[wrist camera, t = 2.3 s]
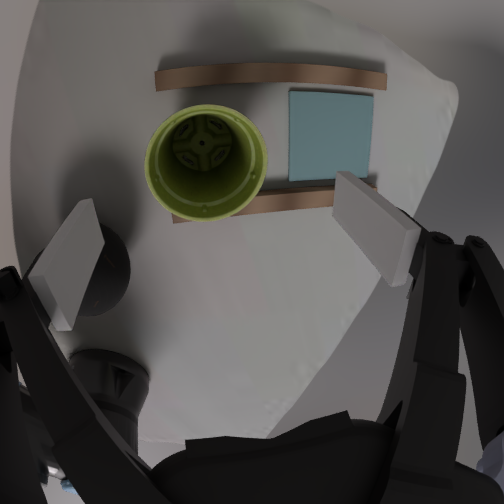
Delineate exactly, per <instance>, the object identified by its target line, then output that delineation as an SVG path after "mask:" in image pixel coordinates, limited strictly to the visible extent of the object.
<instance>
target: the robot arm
mask: <svg viewBox="0 0 504 504" xmlns="http://www.w3.org/2000/svg"><path fill="white" fill-rule="evenodd" d="M332 216H333V217H334V218H335V220H336V221H337V222H338V223H339V224H340V225H341V226H342V228H343V229H344V230H345V231H346V232H347V233H348V235H349V236H350V237H351V238H352V239H353V241H354V242H355V243H356V244H357V245H358V247H359V248H360V249H361V250H362V251H363V253H364V254H365V255H366V256H367V257H368V259H369V260H370V261H371V262H372V264H373V265H374V266H375V267H376V269H377V270H378V271H379V272H380V274H381V275H382V276H383V277H384V279H385V280H386V281H387V283H388V284H389V285H390V286H391V287H394V286H399V285H403V284H405V282H406V279H407V276H408V273H410V274H411V275H412V276H413V281H412V284H411V287H410V289H409V292H408V295H407V299H409V301H408V307H407V312H406V318H405V322H404V327H403V332H402V337H401V341H400V346H399V349H398V354H397V358H396V362H395V365H394V369H393V373H392V377H391V380H390V384H389V387H388V390H387V394H386V397H385V400H384V403H383V407H382V410H381V412H380V414H379V416H378V418H377V420H376V422H374V421H369V420H363V419H350V417H349V414H348V411H347V410H346V411H343V412H340V413H336V414H333V415H329V416H325V417H322V418H318V419H314V420H310V421H308V422H306V423H304V424H302V425H300V426H298V427H296V428H294V429H292V430H290V431H288V432H286V433H283V434H281V435H279V436H277V437H275V438H271V439H258V438H243V437H231V436H222V437H213V438H203V439H191V440H185V445H186V450H183V451H180V452H177V453H175V454H173V455H171V456H169V457H167V458H165V459H164V460H162V461H161V462H160V463H158V464H157V465H156V466H155V467H154V468H153V469H151V468H150V467H149V466H148V465H147V464H146V463H145V462H144V461H143V460H142V459H141V458H140V457H139V456H138V416H139V414H140V411H141V409H142V407H143V404H144V402H145V400H146V397H147V395H148V391H149V378H148V375H147V373H146V371H145V370H144V369H143V368H142V367H141V366H140V365H139V364H137V363H136V362H135V361H133V360H131V359H129V358H127V357H125V356H123V355H120V354H117V353H114V352H110V351H105V350H85V351H81V352H78V353H76V354H75V355H73V356H72V358H71V359H70V361H69V363H68V361H67V360H66V358H65V356H64V355H63V353H62V351H61V350H60V348H59V346H58V344H57V343H56V341H55V339H54V337H53V335H52V334H51V332H50V330H49V329H48V327H49V324H50V322H52V324H53V325H54V327H55V329H56V330H57V331H72V329H73V326H74V323H75V320H76V317H77V314H78V311H79V308H80V305H81V302H82V299H83V296H84V294H85V291H86V288H87V285H88V283H89V280H90V278H91V275H92V272H93V270H94V267H95V265H96V262H97V260H98V258H99V255H100V253H101V250H102V248H103V246H104V243H105V242H104V239H103V236H102V232H101V229H100V225H99V222H98V218H97V215H96V211H95V207H94V203H93V199H92V198H90V199H85V200H80V201H79V202H78V203H77V205H76V206H75V207H74V209H73V210H72V211H71V213H70V214H69V215H68V217H67V218H66V219H65V221H64V222H63V224H62V225H61V226H60V228H59V229H58V231H57V232H56V234H55V235H54V236H53V238H52V239H51V241H50V242H49V244H48V245H47V247H46V248H45V249H43V250H42V251H41V252H40V253H39V254H38V255H37V256H36V258H35V259H34V261H33V263H32V264H31V266H30V267H29V269H28V270H27V272H26V274H25V275H24V277H23V279H22V280H21V278H20V276H19V274H18V272H17V270H16V268H15V267H14V266H8V267H5V268H3V269H1V270H0V504H48V503H47V500H46V497H45V494H44V492H43V488H45V487H47V483H48V476H52V477H55V478H58V479H60V480H61V485H62V488H63V490H65V491H68V492H71V493H73V494H78V495H79V496H80V497H81V499H82V500H83V501H84V503H85V504H504V269H503V268H502V266H501V264H500V262H499V261H498V259H497V257H496V256H495V254H494V252H493V251H492V249H491V247H490V246H489V245H488V244H487V242H486V241H484V240H483V239H482V238H480V237H478V236H471V235H469V236H467V237H466V239H465V242H464V245H457V244H454V242H453V240H452V239H451V238H450V237H449V236H447V235H445V234H443V233H440V232H428V231H427V230H426V229H425V228H424V227H423V226H421V225H420V224H419V223H418V222H417V221H415V220H414V219H413V218H412V217H410V215H408V214H407V213H406V212H405V211H403V210H401V209H399V208H397V207H395V206H394V205H393V204H392V203H390V202H389V201H388V200H387V199H385V198H384V197H383V196H381V195H380V194H379V193H378V192H376V191H375V190H374V189H372V188H371V187H370V186H368V185H367V184H366V183H364V182H363V181H362V180H360V179H359V178H358V177H356V176H355V175H354V174H352V173H351V172H349V171H336V182H335V193H334V203H333V213H332ZM459 330H461V334H462V338H463V342H464V346H465V350H466V355H467V359H468V364H469V369H470V375H471V380H472V386H473V392H474V398H475V406H476V414H477V423H478V430H479V436H480V440H481V445H482V449H483V455H482V458H481V459H480V460H479V461H478V463H477V467H476V470H474V469H472V468H470V467H468V466H465V465H463V464H461V463H459V462H457V461H455V460H456V455H457V450H458V445H459V439H460V434H461V427H462V421H463V413H464V404H465V394H466V377H465V375H464V374H460V373H458V362H459V333H460V331H459ZM17 364H18V366H19V369H20V372H21V374H22V376H23V379H24V381H25V384H26V386H27V387H25V386H23V385H22V383H21V382H19V380H18V370H17Z"/></svg>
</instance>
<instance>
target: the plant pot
mask: <svg viewBox="0 0 504 504" xmlns="http://www.w3.org/2000/svg"><path fill="white" fill-rule="evenodd" d="M210 121H215V122H217V123H218V124H220V125H221V129H219V128H218V127H217V126H216V125H214V124H212V123H211V122H210ZM187 124H188V125H189V127H188V128H187V129H186V130H185V131H184V132H183V134H182V135H181V136H180V131H181V129H182V128H183V127H184V126H185V125H187ZM200 141H204V143H205V144H204V145H203V146H202V145H200ZM222 150H224V154H223V156H222V157H221V158H220V159H219V160H215V158H216V157H217V156H218V155H219V154H220V153H221V151H222ZM183 156H186V157H187V158H188V159H189V160H191V161H192V162H194V164H190V163H189V162H186V161H185V160H184V159H183ZM267 162H268V155H267V149H266V145H265V141H264V139H263V137H262V135H261V133H260V131H259V130H258V128H257V127H256V126H255V125H254V124H253V122H252V121H251V120H249V119H248V118H247V117H246V116H244V115H243V114H241V113H240V112H238V111H236V110H234V109H231V108H228V107H225V106H221V105H213V104H203V105H196V106H191V107H188V108H185V109H182V110H180V111H178V112H176V113H175V114H173V115H172V116H170V117H169V118H168V119H166V120H165V121H164V122H163V123H162V124H161V125H160V126H159V127H158V129H157V130H156V131H155V133H154V134H153V136H152V138H151V140H150V142H149V144H148V147H147V150H146V155H145V162H144V169H145V176H146V180H147V184H148V186H149V188H150V190H151V192H152V194H153V196H154V197H155V198H156V200H157V201H158V202H159V203H160V204H161V205H162V206H163V207H164V208H165V209H167V210H168V211H170V212H171V213H173V214H175V215H177V216H179V217H181V218H185V219H188V220H192V221H198V222H201V221H216V220H220V219H223V218H227V217H229V216H231V215H233V214H235V213H237V212H239V211H240V210H241V209H243V208H244V207H245V206H246V205H248V204H249V203H250V202H251V201H252V199H253V198H254V197H255V196H256V194H257V193H258V191H259V189H260V188H261V186H262V184H263V181H264V178H265V175H266V171H267Z"/></svg>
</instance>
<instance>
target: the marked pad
mask: <svg viewBox="0 0 504 504" xmlns="http://www.w3.org/2000/svg"><path fill="white" fill-rule="evenodd" d="M373 100H374V97H372V96H363V95H353V94H341V93H326V92H303V91H289V169H288V180H289V181H302V180H318V179H336V171H349V172H351V173H352V174H354V175H355V176H356V177H358V178H365V177H367V174H368V165H369V155H370V145H371V132H372V118H373Z"/></svg>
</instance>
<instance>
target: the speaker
mask: <svg viewBox="0 0 504 504" xmlns="http://www.w3.org/2000/svg"><path fill="white" fill-rule="evenodd" d="M99 225H100V229H101V232H102V236H103V239H104V242H105V243H104V246H103V248H102V250H101V253H100V255H99V258H98V260H97V262H96V265H95V267H94V270H93V272H92V275H91V278H90V280H89V283H88V285H87V288H86V291H85V294H84V296H83V299H82V302H81V305H80V308H79V311H78V314H77V315H80V316H94V315H99V314H102V313H104V312H106V311H108V310H110V309H111V308H112V307H114V306H115V305H116V304H117V303H118V302H119V301H120V299H121V298H122V297H123V295H124V293H125V291H126V289H127V287H128V284H129V279H130V270H131V269H130V259H129V255H128V252H127V249H126V247H125V245H124V244H123V242H122V240H121V239H120V238H119V237H118V235H117V234H116V233H115V232H113V231H112V230H111V229H110V228H108V227H106V226H104V225H102V224H100V223H99Z"/></svg>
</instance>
